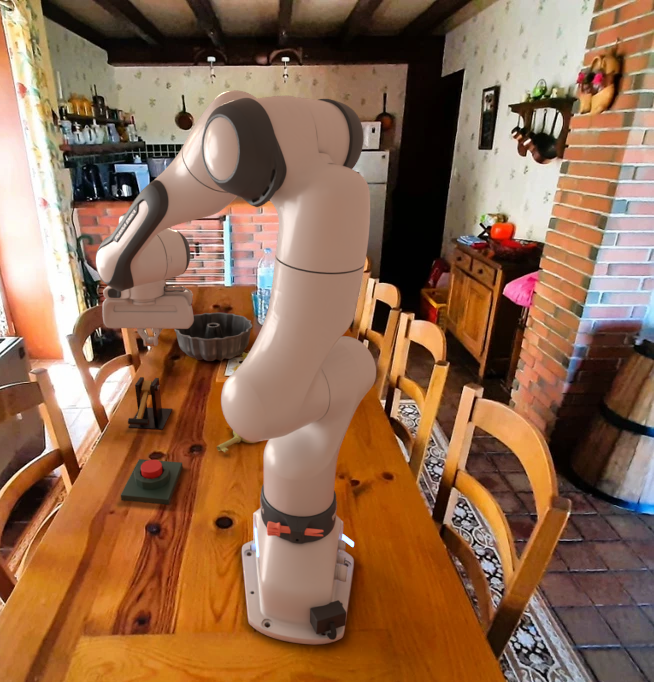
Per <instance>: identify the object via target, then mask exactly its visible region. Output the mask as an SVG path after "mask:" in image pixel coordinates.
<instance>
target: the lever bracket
mask: <svg viewBox="0 0 654 682" xmlns="http://www.w3.org/2000/svg"><path fill="white" fill-rule="evenodd" d="M144 380H145V377H144V376H140V377H139V378H138V380H137V381H136V383H135V384H134V388H135V389H134V390H135V397H136V404H137V405H136V406H137V412H136V413H135V415H134V417H133V418H136V419H137V415H138V412H139V408H140V404H141V401H142V397H143V392H142V390H141V389H142V385H143V381H144ZM150 388H151V395H150V397H151V406H150V407H148V401H147V402H146V406H145V410H144V414H143V418H142V419H149V425H135V424H128V429H141V430H155V431H163V430H164V428H165V426H166V424H167V422H168V420H169V417H170V416H171V413H172V412H173V408H166V407H162V395H161V386H160V378H159V377H154V379H153V380H152V384H151V385H150Z"/></svg>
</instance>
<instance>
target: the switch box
mask: <svg viewBox="0 0 654 682" xmlns="http://www.w3.org/2000/svg"><path fill="white" fill-rule="evenodd" d="M148 460H149V459H141V458H139V459H138V460H137V463H136V464H135V466H134V468H133V470H132V471H131V474H130V476H129V477H128V480H127V482H126V484H125V485H124V487H123V490H122V491H121V493H120V499H121V500H120V501H124V502H134V503H145V504H154V505H155V504H156V505H166V506H169V505H170V503H171V500H172V498H173V495H174V492H175V489H176V487H177V485H178V481H179V478H180V476H181V473H182V471H183V467H184V466H183V462H182V461H181V462H180V461H168V460H167V461H166V460H159V461H160V462H161V464H162V471H163V472H162V474H161V475H160V476H159V477H157V478H153V479H147V478H144V477H143V476H142V473H141V465H142V464H143V463H144V462H145V461H148Z"/></svg>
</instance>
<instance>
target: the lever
mask: <svg viewBox="0 0 654 682" xmlns="http://www.w3.org/2000/svg"><path fill="white" fill-rule="evenodd" d="M152 382H153V380H145V379H144V381H143V385H142V389H141V390H142V392H143V397H142V401H141V404H140V408H139V412H138V411H137V412H138V415H137V419H136V418H134V417H129V418H128V419H127V424H128V425H130V424H135V425H149V419H142V418H143V414H144V410H145V406H146V402H147V403H148V399H149V396H151V388H150V385H151V384H152Z"/></svg>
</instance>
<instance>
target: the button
mask: <svg viewBox="0 0 654 682" xmlns="http://www.w3.org/2000/svg"><path fill="white" fill-rule="evenodd" d="M147 460H148V461H145V462H144V463H143V464H142V465H141V473H142V476H143V477H144V478H147V479H153V478H157V477H159V476H160V475H161V474H162V472H163V471H162V464H161V462H160V461H161V460H159V459H147Z"/></svg>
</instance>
